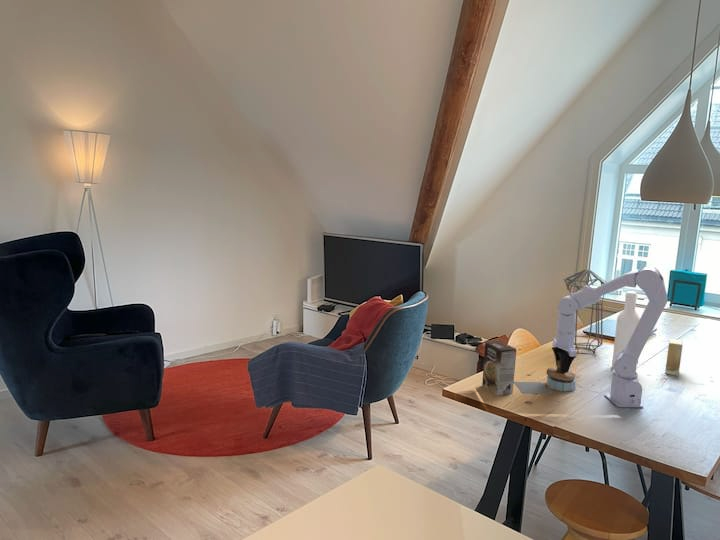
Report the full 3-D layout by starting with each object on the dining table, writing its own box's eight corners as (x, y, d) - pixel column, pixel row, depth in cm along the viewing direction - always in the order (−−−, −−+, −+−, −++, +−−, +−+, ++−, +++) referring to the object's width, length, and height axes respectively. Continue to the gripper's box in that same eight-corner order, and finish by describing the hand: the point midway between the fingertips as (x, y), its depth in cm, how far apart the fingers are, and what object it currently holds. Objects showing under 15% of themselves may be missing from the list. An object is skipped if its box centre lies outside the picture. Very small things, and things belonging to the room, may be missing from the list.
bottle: (606, 367, 200) (615, 290, 195) (620, 364, 203) (628, 289, 198) (625, 374, 193) (634, 294, 188) (639, 371, 196) (648, 293, 191)
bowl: (579, 393, 173) (580, 383, 173) (552, 392, 173) (553, 383, 172) (568, 383, 182) (569, 373, 181) (542, 382, 182) (543, 373, 181)
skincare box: (665, 369, 199) (669, 338, 197) (678, 371, 197) (682, 340, 195) (665, 374, 194) (669, 342, 192) (678, 376, 191) (682, 344, 189)
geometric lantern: (607, 358, 210) (614, 273, 204) (566, 356, 213) (572, 272, 207) (596, 346, 226) (602, 266, 220) (558, 344, 228) (563, 266, 222)
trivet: (552, 395, 170) (552, 393, 170) (522, 395, 170) (522, 393, 170) (541, 384, 180) (541, 382, 180) (513, 383, 180) (513, 381, 180)
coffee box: (481, 387, 176) (484, 341, 174) (497, 385, 178) (500, 340, 176) (497, 398, 168) (500, 350, 165) (513, 395, 170) (517, 348, 167)
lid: (579, 381, 173) (581, 366, 172) (552, 379, 172) (555, 364, 171) (567, 371, 181) (569, 357, 181) (542, 370, 181) (544, 355, 180)
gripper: (546, 325, 181) (542, 362, 184) (562, 337, 167) (559, 377, 169) (566, 325, 181) (562, 363, 184) (584, 338, 167) (580, 378, 169)
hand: (562, 370), depth 176 cm, fingers closed on lid, 3 cm apart
